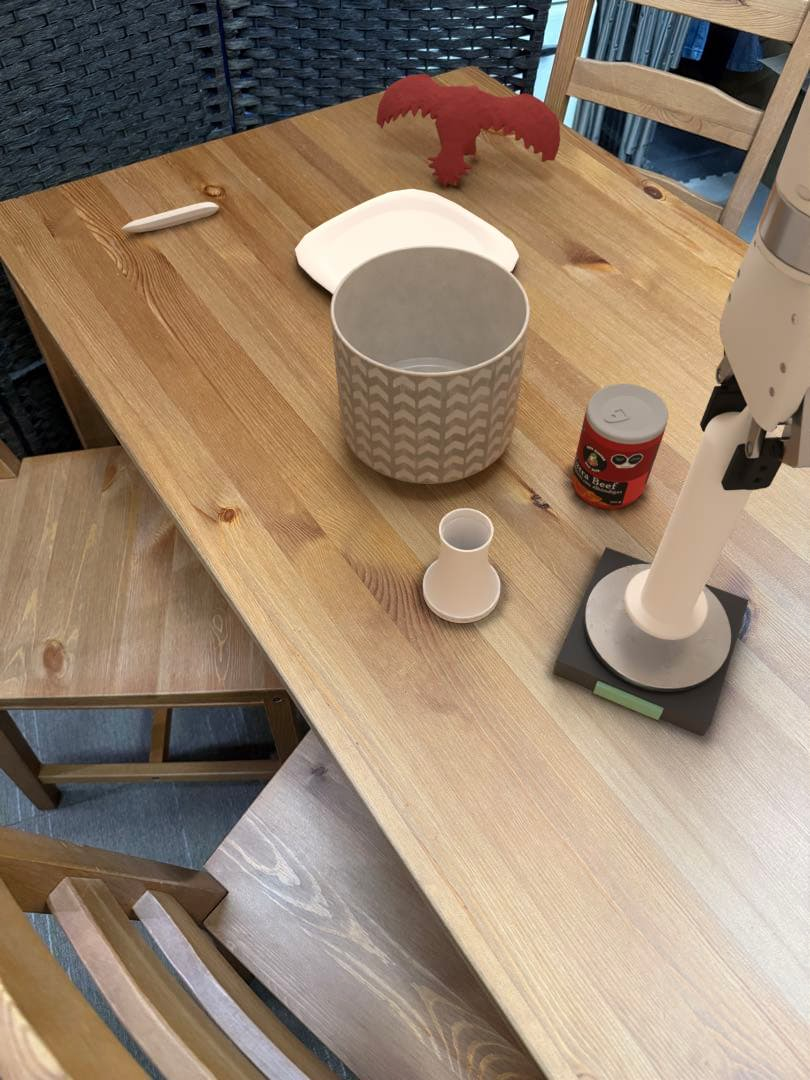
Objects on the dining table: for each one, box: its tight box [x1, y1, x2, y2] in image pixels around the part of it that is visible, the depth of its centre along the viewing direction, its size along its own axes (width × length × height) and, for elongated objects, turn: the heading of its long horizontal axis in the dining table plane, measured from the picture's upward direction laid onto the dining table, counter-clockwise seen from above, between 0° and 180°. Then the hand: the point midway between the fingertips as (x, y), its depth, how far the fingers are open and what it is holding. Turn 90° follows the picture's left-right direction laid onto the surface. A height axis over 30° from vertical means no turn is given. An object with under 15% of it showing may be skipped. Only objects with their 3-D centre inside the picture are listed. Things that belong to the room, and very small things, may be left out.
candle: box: [624, 405, 775, 640], centre depth 65 cm, size 7×7×25 cm
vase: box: [422, 507, 501, 624], centre depth 80 cm, size 8×8×10 cm
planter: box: [329, 245, 531, 485], centre depth 89 cm, size 19×19×18 cm
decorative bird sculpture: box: [375, 73, 561, 188], centre depth 125 cm, size 28×9×15 cm
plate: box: [294, 188, 520, 296], centre depth 114 cm, size 25×25×2 cm
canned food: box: [571, 383, 669, 510], centre depth 87 cm, size 8×8×11 cm
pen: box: [120, 201, 220, 233], centre depth 119 cm, size 2×14×2 cm, turn 116°
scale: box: [552, 546, 749, 737], centre depth 79 cm, size 14×14×4 cm
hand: (733, 454), depth 59 cm, fingers closed on candle, 4 cm apart
